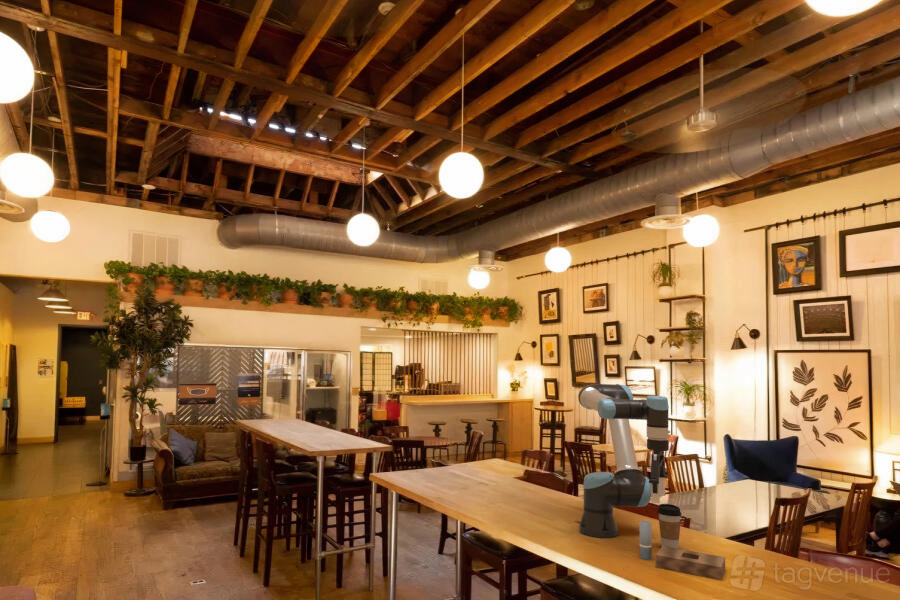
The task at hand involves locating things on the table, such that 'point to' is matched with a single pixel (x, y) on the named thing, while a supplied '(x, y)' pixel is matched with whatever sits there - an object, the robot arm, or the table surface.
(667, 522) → the coffee cup
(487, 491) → the table surface
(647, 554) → the peg
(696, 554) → the board
